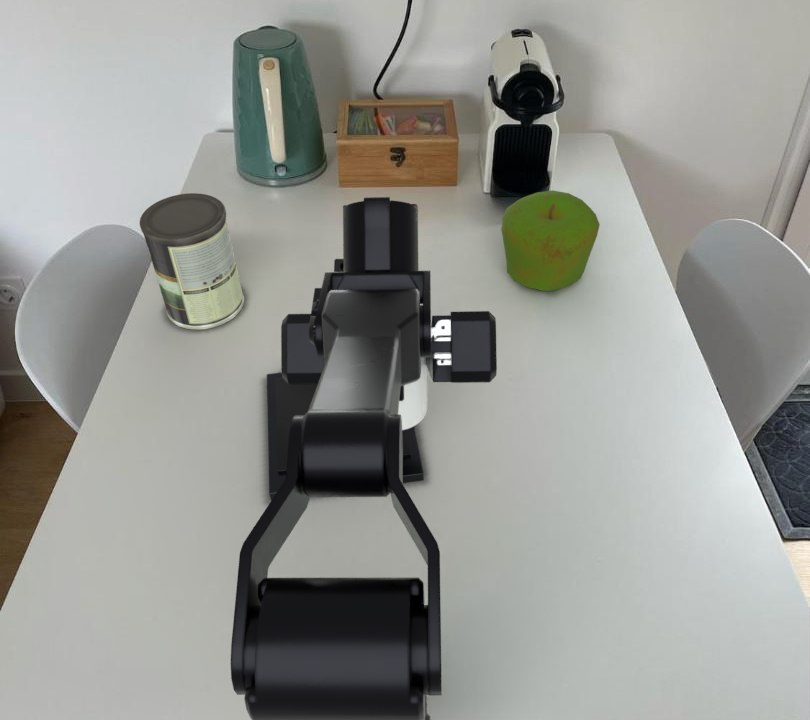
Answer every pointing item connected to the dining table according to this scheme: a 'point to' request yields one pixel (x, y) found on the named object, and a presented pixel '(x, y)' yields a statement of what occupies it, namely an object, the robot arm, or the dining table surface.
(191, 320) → the coffee can
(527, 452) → the dining table surface
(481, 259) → the dining table surface
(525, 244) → the apple
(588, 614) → the dining table surface
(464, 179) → the dining table surface
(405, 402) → the can
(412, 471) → the scale
